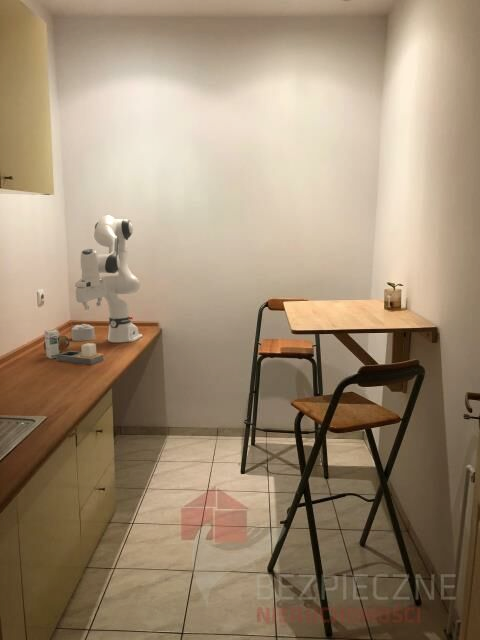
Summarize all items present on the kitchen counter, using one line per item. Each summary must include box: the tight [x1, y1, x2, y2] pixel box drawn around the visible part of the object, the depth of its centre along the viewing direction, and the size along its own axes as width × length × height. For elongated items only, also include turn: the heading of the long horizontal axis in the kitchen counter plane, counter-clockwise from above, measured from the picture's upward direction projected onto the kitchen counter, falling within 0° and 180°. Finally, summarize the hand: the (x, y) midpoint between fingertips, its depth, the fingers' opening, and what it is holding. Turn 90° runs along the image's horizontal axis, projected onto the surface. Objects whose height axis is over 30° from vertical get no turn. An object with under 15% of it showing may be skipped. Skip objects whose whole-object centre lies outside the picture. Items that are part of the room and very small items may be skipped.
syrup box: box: [43, 329, 62, 359], centre depth 282 cm, size 6×6×14 cm
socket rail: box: [56, 350, 105, 366], centre depth 276 cm, size 10×22×3 cm, turn 66°
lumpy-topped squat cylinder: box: [71, 323, 96, 342], centre depth 325 cm, size 10×13×9 cm
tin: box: [43, 335, 70, 352], centre depth 295 cm, size 15×3×8 cm, turn 143°
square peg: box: [81, 342, 97, 358], centre depth 273 cm, size 5×5×9 cm
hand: (92, 307), depth 278 cm, fingers open, 8 cm apart
